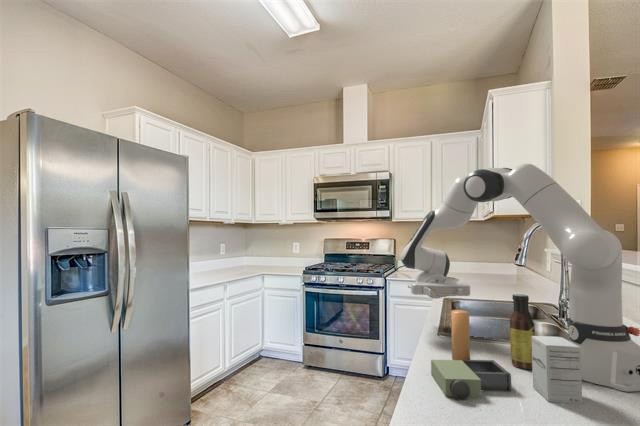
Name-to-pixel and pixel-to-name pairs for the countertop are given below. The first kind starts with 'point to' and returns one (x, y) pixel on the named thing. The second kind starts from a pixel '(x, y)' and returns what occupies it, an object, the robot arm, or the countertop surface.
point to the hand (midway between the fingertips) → (446, 292)
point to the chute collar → (490, 375)
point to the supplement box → (557, 369)
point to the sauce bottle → (521, 332)
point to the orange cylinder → (460, 335)
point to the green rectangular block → (456, 379)
